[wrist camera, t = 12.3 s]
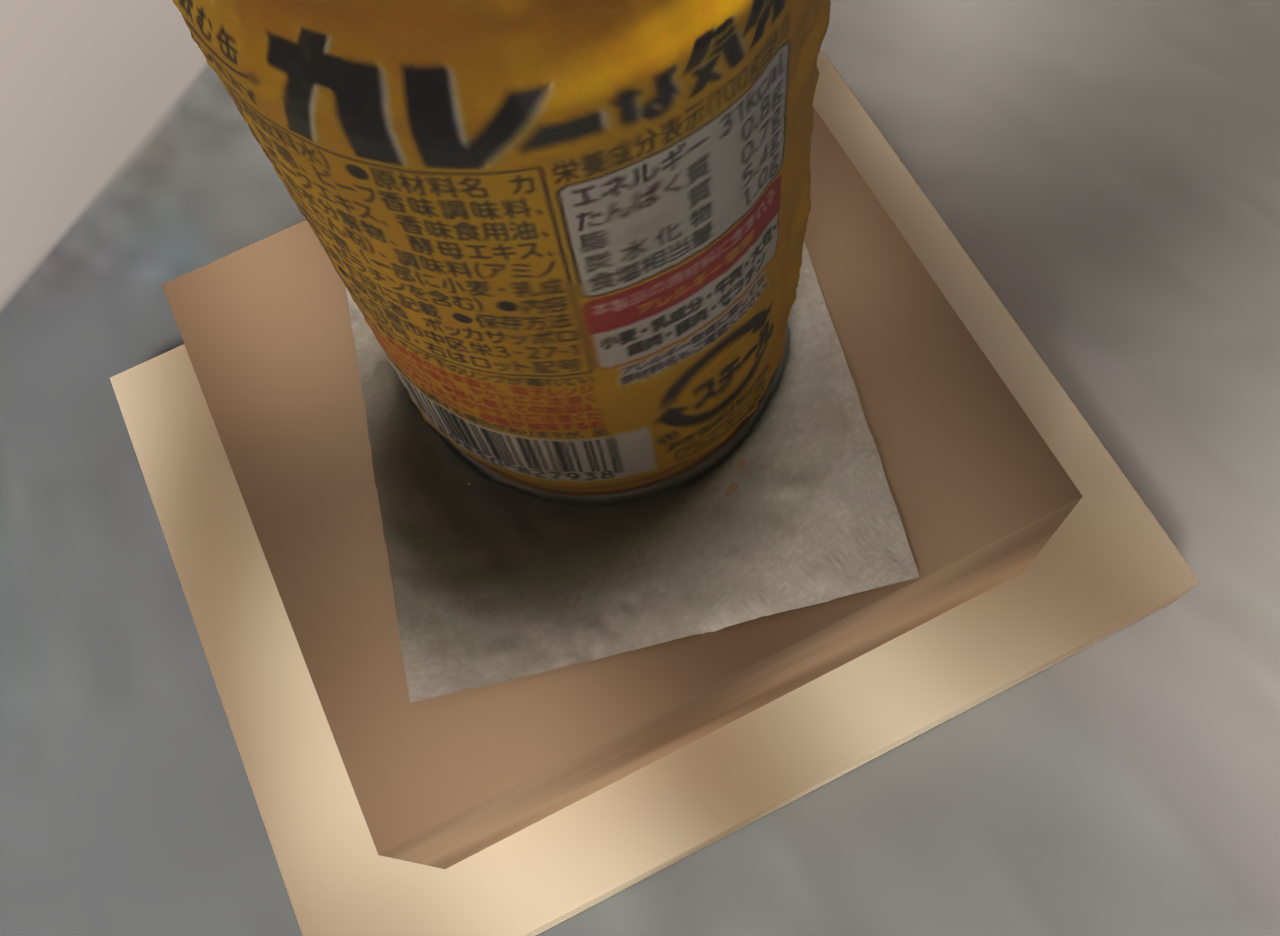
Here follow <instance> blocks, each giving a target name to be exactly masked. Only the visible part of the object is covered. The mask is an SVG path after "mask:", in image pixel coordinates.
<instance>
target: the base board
mask: <svg viewBox="0 0 1280 936" xmlns="http://www.w3.org/2000/svg"><path fill="white" fill-rule="evenodd" d="M817 68H818V71H819V78H818V82H817V85H816V89H815V94H814V99H813V104H812V107H813V110H814V127H813V131H812V136H811V153H810V173H811V186H810V199H811V210H810V212H809V217H808V222H807V228H806V233H805V238H804V242H805V245H806V248H807V250H808V253H809V256H810V259H811V262H812V265H813V268H814V271H815V274H816V277H817V281H818V284H819V287H820V289H821V292H822V295H823V298H824V301H825V304H826V307H827V309H828V312H829V315H830V318H831V321H832V324H833V326H834V329H835V331H836V334H837V337H838V340H839V343H840V345H841V348H842V350H843V353H844V356H845V359H846V362H847V366H848V368H849V371H850V374H851V376H852V378H853V381H854V384H855V387H856V390H857V393H858V396H859V400H860V403H861V406H862V410H863V413H864V416H865V419H866V422H867V425H868V428H869V430H870V433H871V435H872V437H873V440H874V442H875V445H876V448H877V451H878V454H879V457H880V460H881V463H882V467H883V471H884V474H885V477H886V480H887V483H888V486H889V489H890V492H891V495H892V497H893V500H894V502H895V505H896V508H897V510H898V513H899V516H900V519H901V522H902V525H903V528H904V531H905V534H906V538H907V541H908V544H909V547H910V550H911V553H912V556H913V559H914V562H915V565H916V568H917V571H918V574H919V577H918V578H915V579H910V580H906V581H902V582H898V583H894V584H890V585H886V586H882V587H878V588H874V589H871V590H867V591H863V592H859V593H855V594H851V595H847V596H844V597H840V598H836V599H834V600H831V601H828V602H823V603H819V604H815V605H811V606H807V607H802V608H798V609H793V610H788V611H784V612H780V613H776V614H772V615H769V616H762V617H759V618H757V619H753V620H749V621H745V622H742V623H739V624H735V625H732V626H728V627H725V628H723V629H720V630H718V631H715V632H706V633H704V634H696V635H691V636H687V637H683V638H679V639H675V640H671V641H667V642H663V643H659V644H655V645H652V646H648V647H644V648H640V649H636V650H632V651H627V652H623V653H619V654H616V655H612V656H608V657H604V658H601V659H597V660H594V661H587V662H581V663H575V664H570V665H567V666H564V667H561V668H557V669H553V670H550V671H546V672H541V673H537V674H533V675H529V676H525V677H520V678H516V679H512V680H507V681H503V682H500V683H496V684H492V685H489V686H484V687H479V688H467V689H464V690H461V691H458V692H454V693H451V694H446V695H442V696H438V697H433V698H429V699H425V700H420V701H416V702H410V698H409V692H408V686H407V680H406V673H405V667H404V660H403V655H402V650H401V645H400V639H399V633H398V622H397V615H396V608H395V600H394V592H393V585H392V579H391V575H390V568H389V559H388V553H387V548H386V543H385V539H384V534H383V523H382V516H381V510H380V505H379V499H378V492H377V488H376V485H375V479H374V472H373V464H372V452H371V444H370V441H369V437H368V427H367V419H366V411H365V403H364V397H363V393H362V388H361V378H360V372H359V366H358V359H357V352H356V346H355V340H354V336H353V331H352V326H351V318H350V311H349V303H348V298H347V291H346V286H345V285H344V283H343V281H342V279H341V278H340V276H339V275H338V273H337V272H336V271H335V269H334V267H333V264H332V262H331V260H330V258H329V257H328V255H327V253H326V252H325V250H324V249H323V247H322V245H321V243H320V242H319V240H318V238H317V237H316V235H315V233H314V232H313V230H312V229H311V227H310V225H309V223H308V221H307V220H304V221H302V222H300V223H298V224H296V225H293V226H291V227H289V228H287V229H285V230H282V231H280V232H278V233H276V234H273V235H271V236H269V237H267V238H265V239H262V240H260V241H258V242H256V243H254V244H251V245H249V246H247V247H245V248H243V249H240V250H238V251H236V252H234V253H231V254H229V255H227V256H225V257H223V258H220V259H218V260H216V261H214V262H212V263H209V264H207V265H205V266H203V267H201V268H198V269H196V270H194V271H192V272H189V273H187V274H185V275H183V276H181V277H178V278H176V279H174V280H172V281H170V282H167V283H165V284H163V285H162V287H163V289H164V292H165V295H166V297H167V300H168V303H169V305H170V308H171V310H172V313H173V316H174V318H175V321H176V324H177V326H178V329H179V331H180V334H181V337H182V339H183V342H184V344H183V345H181V346H179V347H176V348H174V349H172V350H170V351H168V352H166V353H163V354H161V355H159V356H157V357H155V358H152V359H150V360H148V361H146V362H144V363H142V364H139V365H137V366H135V367H133V368H131V369H128V370H126V371H124V372H122V373H120V374H118V375H115V376H113V377H111V378H110V380H111V383H112V386H113V389H114V392H115V394H116V397H117V400H118V403H119V406H120V409H121V412H122V415H123V418H124V420H125V423H126V426H127V429H128V432H129V435H130V438H131V441H132V444H133V446H134V449H135V452H136V455H137V458H138V461H139V464H140V467H141V470H142V472H143V475H144V478H145V481H146V484H147V487H148V490H149V493H150V496H151V498H152V501H153V504H154V507H155V510H156V513H157V516H158V519H159V522H160V524H161V527H162V530H163V533H164V536H165V539H166V542H167V545H168V548H169V550H170V553H171V556H172V559H173V562H174V565H175V568H176V571H177V574H178V576H179V579H180V582H181V585H182V588H183V591H184V594H185V597H186V600H187V602H188V605H189V608H190V611H191V614H192V617H193V620H194V623H195V626H196V628H197V631H198V634H199V637H200V640H201V643H202V646H203V649H204V652H205V654H206V657H207V660H208V663H209V666H210V669H211V672H212V675H213V678H214V680H215V683H216V686H217V689H218V692H219V695H220V698H221V701H222V704H223V706H224V709H225V712H226V715H227V718H228V721H229V724H230V727H231V730H232V732H233V735H234V738H235V741H236V744H237V747H238V750H239V753H240V756H241V758H242V761H243V764H244V767H245V770H246V773H247V776H248V779H249V782H250V784H251V787H252V790H253V793H254V796H255V799H256V802H257V805H258V807H259V810H260V813H261V816H262V819H263V822H264V825H265V828H266V831H267V833H268V836H269V839H270V842H271V845H272V848H273V851H274V854H275V857H276V859H277V862H278V865H279V868H280V871H281V874H282V877H283V880H284V883H285V885H286V888H287V891H288V894H289V897H290V900H291V903H292V906H293V909H294V911H295V914H296V917H297V920H298V923H299V926H300V929H301V932H302V935H303V936H536V935H538V934H540V933H542V932H544V931H545V930H547V929H549V928H551V927H553V926H555V925H557V924H559V923H561V922H563V921H565V920H566V919H568V918H570V917H572V916H574V915H576V914H578V913H580V912H582V911H584V910H586V909H587V908H589V907H591V906H593V905H595V904H597V903H599V902H601V901H603V900H605V899H607V898H608V897H610V896H612V895H614V894H616V893H618V892H620V891H622V890H624V889H626V888H628V887H630V886H631V885H633V884H635V883H637V882H639V881H641V880H643V879H645V878H647V877H649V876H651V875H652V874H654V873H656V872H658V871H660V870H662V869H664V868H666V867H668V866H670V865H672V864H673V863H675V862H677V861H679V860H681V859H683V858H685V857H687V856H689V855H691V854H693V853H694V852H696V851H698V850H700V849H702V848H704V847H706V846H708V845H710V844H712V843H714V842H716V841H717V840H719V839H721V838H723V837H725V836H727V835H729V834H731V833H733V832H735V831H737V830H738V829H740V828H742V827H744V826H746V825H748V824H750V823H752V822H754V821H756V820H758V819H759V818H761V817H763V816H765V815H767V814H769V813H771V812H773V811H775V810H777V809H779V808H780V807H782V806H784V805H786V804H788V803H790V802H792V801H794V800H796V799H798V798H800V797H802V796H803V795H805V794H807V793H809V792H811V791H813V790H815V789H817V788H819V787H821V786H823V785H824V784H826V783H828V782H830V781H832V780H834V779H836V778H838V777H840V776H842V775H844V774H845V773H847V772H849V771H851V770H853V769H855V768H857V767H859V766H861V765H863V764H865V763H866V762H868V761H870V760H872V759H874V758H876V757H878V756H880V755H882V754H884V753H886V752H888V751H889V750H891V749H893V748H895V747H897V746H899V745H901V744H903V743H905V742H907V741H909V740H910V739H912V738H914V737H916V736H918V735H920V734H922V733H924V732H926V731H928V730H930V729H931V728H933V727H935V726H937V725H939V724H941V723H943V722H945V721H947V720H949V719H951V718H952V717H954V716H956V715H958V714H960V713H962V712H964V711H966V710H968V709H970V708H972V707H974V706H975V705H977V704H979V703H981V702H983V701H985V700H987V699H989V698H991V697H993V696H995V695H996V694H998V693H1000V692H1002V691H1004V690H1006V689H1008V688H1010V687H1012V686H1014V685H1016V684H1017V683H1019V682H1021V681H1023V680H1025V679H1027V678H1029V677H1031V676H1033V675H1035V674H1037V673H1038V672H1040V671H1042V670H1044V669H1046V668H1048V667H1050V666H1052V665H1054V664H1056V663H1058V662H1060V661H1061V660H1063V659H1065V658H1067V657H1069V656H1071V655H1073V654H1075V653H1077V652H1079V651H1081V650H1082V649H1084V648H1086V647H1088V646H1090V645H1092V644H1094V643H1096V642H1098V641H1100V640H1102V639H1103V638H1105V637H1107V636H1109V635H1111V634H1113V633H1115V632H1117V631H1119V630H1121V629H1123V628H1124V627H1126V626H1128V625H1130V624H1132V623H1134V622H1136V621H1138V620H1140V619H1142V618H1144V617H1146V616H1147V615H1149V614H1151V613H1153V612H1155V611H1157V610H1159V609H1161V608H1163V607H1165V606H1167V605H1168V604H1170V603H1172V602H1174V601H1176V600H1178V599H1179V598H1180V597H1181V596H1183V595H1184V594H1185V593H1187V592H1188V591H1189V590H1191V589H1192V588H1193V587H1194V586H1196V585H1197V584H1198V583H1200V580H1199V579H1198V578H1197V576H1196V575H1195V573H1194V572H1193V571H1192V569H1191V568H1190V566H1189V565H1188V564H1187V562H1186V561H1185V559H1184V558H1183V556H1182V555H1181V554H1180V552H1179V551H1178V549H1177V548H1176V547H1175V545H1174V544H1173V542H1172V541H1171V540H1170V538H1169V537H1168V535H1167V534H1166V533H1165V531H1164V530H1163V528H1162V527H1161V526H1160V524H1159V523H1158V521H1157V520H1156V519H1155V517H1154V516H1153V514H1152V513H1151V512H1150V510H1149V509H1148V507H1147V506H1146V505H1145V503H1144V502H1143V500H1142V499H1141V497H1140V496H1139V495H1138V493H1137V492H1136V490H1135V489H1134V488H1133V486H1132V485H1131V483H1130V482H1129V481H1128V479H1127V478H1126V476H1125V475H1124V474H1123V472H1122V471H1121V469H1120V468H1119V467H1118V465H1117V464H1116V462H1115V461H1114V460H1113V458H1112V457H1111V455H1110V454H1109V453H1108V451H1107V450H1106V448H1105V447H1104V446H1103V444H1102V443H1101V441H1100V440H1099V438H1098V437H1097V436H1096V434H1095V433H1094V431H1093V430H1092V429H1091V427H1090V426H1089V424H1088V423H1087V422H1086V420H1085V419H1084V417H1083V416H1082V415H1081V413H1080V412H1079V410H1078V409H1077V408H1076V406H1075V405H1074V403H1073V402H1072V401H1071V399H1070V398H1069V396H1068V395H1067V394H1066V392H1065V391H1064V389H1063V388H1062V386H1061V385H1060V384H1059V382H1058V381H1057V379H1056V378H1055V377H1054V375H1053V374H1052V372H1051V371H1050V370H1049V368H1048V367H1047V365H1046V364H1045V363H1044V361H1043V360H1042V358H1041V357H1040V356H1039V354H1038V353H1037V351H1036V350H1035V349H1034V347H1033V346H1032V344H1031V343H1030V342H1029V340H1028V339H1027V337H1026V336H1025V335H1024V333H1023V332H1022V330H1021V329H1020V327H1019V326H1018V325H1017V323H1016V322H1015V320H1014V319H1013V318H1012V316H1011V315H1010V313H1009V312H1008V311H1007V309H1006V308H1005V306H1004V305H1003V304H1002V302H1001V301H1000V299H999V298H998V297H997V295H996V294H995V292H994V291H993V290H992V288H991V287H990V285H989V284H988V283H987V281H986V280H985V278H984V277H983V276H982V274H981V273H980V271H979V270H978V268H977V267H976V266H975V264H974V263H973V261H972V260H971V259H970V257H969V256H968V254H967V253H966V252H965V250H964V249H963V247H962V246H961V245H960V243H959V242H958V240H957V239H956V238H955V236H954V235H953V233H952V232H951V231H950V229H949V228H948V226H947V225H946V224H945V222H944V221H943V219H942V218H941V216H940V215H939V214H938V212H937V211H936V209H935V208H934V207H933V205H932V204H931V202H930V201H929V200H928V198H927V197H926V195H925V194H924V193H923V191H922V190H921V188H920V187H919V186H918V184H917V183H916V181H915V180H914V179H913V177H912V176H911V174H910V173H909V172H908V170H907V169H906V167H905V166H904V165H903V163H902V162H901V160H900V159H899V157H898V156H897V155H896V153H895V152H894V150H893V149H892V148H891V146H890V145H889V143H888V142H887V141H886V139H885V138H884V136H883V135H882V134H881V132H880V131H879V129H878V128H877V127H876V125H875V124H874V122H873V121H872V120H871V118H870V117H869V115H868V114H867V113H866V111H865V110H864V108H863V107H862V106H861V104H860V103H859V101H858V100H857V98H856V97H855V96H854V94H853V93H852V91H851V90H850V89H849V87H848V86H847V84H846V83H845V82H844V80H843V79H842V77H841V76H840V75H839V73H838V72H837V70H836V69H835V68H834V66H833V65H832V63H831V62H830V61H829V59H828V58H827V56H826V55H825V54H824V52H820V53H818V56H817ZM745 466H746V459H745V457H742V458H741V459H740V460H739V461H738V462H737V463H736V467H737V468H743V467H745ZM469 484H470V483H468V485H469ZM737 488H738V484H736V483H734V482H732V483H730V485H729V487H728V489H727V491H726V493H725V496H729V495H731V494H732V493H733V492H735V491H736V490H737Z"/></svg>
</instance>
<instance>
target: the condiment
mask: <svg viewBox="0 0 1280 936" xmlns="http://www.w3.org/2000/svg"><path fill="white" fill-rule="evenodd" d="M173 2H174V4H175V5H176V6H177V7H178V9H179V11H180V12H181V14H182V16H183V18H184V20H185V23H186V24H187V26H188V28H189V29H190V32H191V35H192V38H193V39H194V41H195V42H196V43H197V44H198V46H199V48H200V49H201V51H202V52H203V54H204V56H205V57H206V60H207V63H208V64H209V65H210V67H211V68H212V69H213V70H214V71H215V72H216V73H217V75H218V77H219V78H220V80H221V82H222V84H223V85H224V87H225V89H226V90H227V92H228V93H229V95H230V96H231V97H232V99H233V101H234V103H235V105H236V107H237V109H238V110H239V112H240V113H241V115H242V116H243V118H244V121H245V122H246V123H247V124H248V126H249V128H250V130H251V132H252V134H253V136H254V137H255V139H256V140H257V141H258V143H259V144H260V146H261V147H262V149H263V151H264V152H265V154H266V156H267V157H268V159H269V160H270V161H271V163H272V164H273V166H274V168H275V170H276V172H277V174H278V175H279V177H280V178H281V180H282V181H283V183H284V185H285V187H286V189H287V190H288V192H289V194H290V196H291V197H292V199H293V200H294V202H295V203H296V205H297V206H298V208H299V210H300V212H301V213H302V214H303V215H304V217H305V218H306V220H307V221H308V223H309V225H310V227H311V229H312V230H313V232H314V233H315V235H316V237H317V238H318V240H319V242H320V243H321V245H322V247H323V249H324V250H325V252H326V253H327V255H328V257H329V258H330V260H331V262H332V264H333V267H334V269H335V271H336V272H337V273H338V275H339V276H340V278H341V279H342V281H343V283H344V285H345V286H346V291H347V298H348V303H349V311H350V318H351V326H352V331H353V336H354V340H355V346H356V352H357V359H358V366H359V372H360V378H361V388H362V393H363V397H364V403H365V411H366V419H367V427H368V437H369V441H370V444H371V452H372V464H373V472H374V479H375V485H376V488H377V492H378V499H379V505H380V510H381V516H382V523H383V534H384V539H385V543H386V548H387V553H388V559H389V568H390V575H391V579H392V585H393V592H394V600H395V608H396V615H397V622H398V633H399V639H400V645H401V650H402V655H403V660H404V667H405V673H406V680H407V686H408V692H409V698H410V702H416V701H420V700H425V699H429V698H433V697H438V696H442V695H446V694H451V693H454V692H458V691H461V690H464V689H467V688H479V687H484V686H489V685H492V684H496V683H500V682H503V681H507V680H512V679H516V678H520V677H525V676H529V675H533V674H537V673H541V672H546V671H550V670H553V669H557V668H561V667H564V666H567V665H570V664H575V663H581V662H587V661H594V660H597V659H601V658H604V657H608V656H612V655H616V654H619V653H623V652H627V651H632V650H636V649H640V648H644V647H648V646H652V645H655V644H659V643H663V642H667V641H671V640H675V639H679V638H683V637H687V636H691V635H696V634H704V633H706V632H715V631H718V630H720V629H723V628H725V627H728V626H732V625H735V624H739V623H742V622H745V621H749V620H753V619H757V618H759V617H762V616H769V615H772V614H776V613H780V612H784V611H788V610H793V609H798V608H802V607H807V606H811V605H815V604H819V603H823V602H828V601H831V600H834V599H836V598H840V597H844V596H847V595H851V594H855V593H859V592H863V591H867V590H871V589H874V588H878V587H882V586H886V585H890V584H894V583H898V582H902V581H906V580H910V579H915V578H918V577H919V574H918V571H917V568H916V565H915V562H914V559H913V556H912V553H911V550H910V547H909V544H908V541H907V538H906V534H905V531H904V528H903V525H902V522H901V519H900V516H899V513H898V510H897V508H896V505H895V502H894V500H893V497H892V495H891V492H890V489H889V486H888V483H887V480H886V477H885V474H884V471H883V467H882V463H881V460H880V457H879V454H878V451H877V448H876V445H875V442H874V440H873V437H872V435H871V433H870V430H869V428H868V425H867V422H866V419H865V416H864V413H863V410H862V406H861V403H860V400H859V396H858V393H857V390H856V387H855V384H854V381H853V378H852V376H851V374H850V371H849V368H848V366H847V362H846V359H845V356H844V353H843V350H842V348H841V345H840V343H839V340H838V337H837V334H836V331H835V329H834V326H833V324H832V321H831V318H830V315H829V312H828V309H827V307H826V304H825V301H824V298H823V295H822V292H821V289H820V287H819V284H818V281H817V277H816V274H815V271H814V268H813V265H812V262H811V259H810V256H809V253H808V250H807V248H806V245H805V242H804V238H805V233H806V228H807V222H808V217H809V212H810V210H811V199H810V186H811V173H810V153H811V136H812V131H813V127H814V110H813V107H812V104H813V99H814V94H815V89H816V85H817V82H818V78H819V71H818V68H817V56H818V53H819V50H820V47H821V44H822V41H823V38H824V36H825V34H826V31H827V28H828V24H829V12H830V3H831V2H830V0H173ZM742 457H745V459H746V466H745V467H743V468H737V467H736V463H737V462H738V461H739V460H740V459H741V458H742ZM732 482H734V483H736V484H738V488H737V490H736V491H735V492H733V493H732V494H731V495H729V496H725V493H726V491H727V489H728V487H729V485H730V483H732ZM468 483H470V484H469V485H468Z"/></svg>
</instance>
